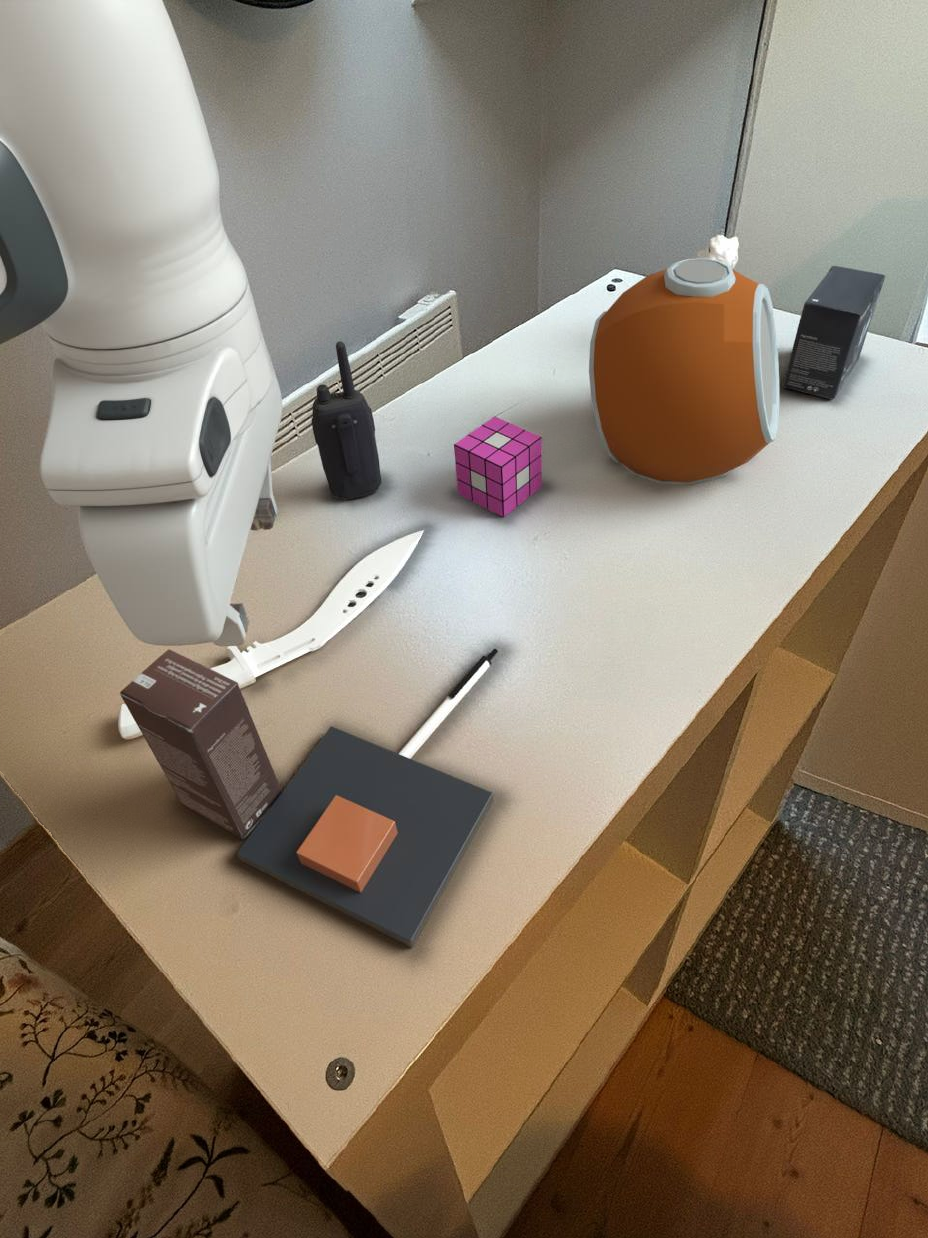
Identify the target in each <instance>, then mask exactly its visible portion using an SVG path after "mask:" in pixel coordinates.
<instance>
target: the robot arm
mask: <svg viewBox="0 0 928 1238" xmlns="http://www.w3.org/2000/svg"><path fill="white" fill-rule="evenodd" d="M179 41H180V40H179V39H178V36H177V33H176V31H175V28H174V26H173V23H172V20H171V17H170V15H169V13H168V10H167V8H166V6H165V3H164V1H163V0H0V345H3V344H5V343H6V342H9V341H10V340H12V339H15V338H16V337H19V336H20V335H22V334H25V333H26V332H28V331H30V330H32V329H33V328H35V327H37V326H38V325H41V327H42V328H43V330H44V332H45V334H46V336H47V339H48V341H49V343H50V346H51V348H52V350H53V352H54V354H55V356H56V357H55V358H54V359H53V361H52V363H51V364H52V365H51V400H50V401H51V403H50V409H49V417H48V422H47V427H46V432H45V436H44V441H43V445H42V449H41V454H40V458H39V475H40V477H41V480H42V483H43V485H44V487H45V489H46V491H47V492H48V494H49V495H50V497H51V499H52V500H53V501H54V502H55V503H56V504H58V505H59V506H73V507H78V516H77V517H78V528H79V534H80V537H81V542H82V544H83V546H84V550H85V553H86V555H87V557H88V559H89V562H90V563H91V565H92V567H93V570H94V572H95V574H96V575H97V577H98V579H99V581H100V583H101V585H102V587H103V588H104V590H105V592H106V594H107V595H108V597H109V600H110V601H111V603H112V604H113V606H114V607H115V610H116V611H117V613H118V614H119V616H120V618H121V619H122V620H123V622H124V624H125V625H126V627H127V628H128V630H129V632H130V633H131V634H132V635H133V636H134V637H135V638H136V639H137V640H138V641H140V642H142V643H145V644H148V645H153V646H162V647H163V646H164V647H171V646H172V647H174V646H175V647H177V646H178V647H179V646H193V645H202V644H209V643H212V644H214V646H218V647H229V646H236V647H237V646H238V647H239V646H242V645H243V644H244V643H245V642H246V636H247V633H248V630H249V625H250V619H249V617H248V616H247V611H246V609H245V606H244V603H242V602H241V603H231V601H232V598H233V593H234V590H235V586H236V582H237V579H238V575H239V572H240V569H241V566H242V565H241V564H242V561H243V558H244V555H245V550H246V546H247V543H248V540H249V536H250V533H251V531H259V530H261V529H262V530H263V531H268V530H272V529H273V527H274V524H275V521H276V517H277V514H278V507H277V503H276V500H275V496H274V492H273V473H272V458H271V457H272V454H273V450H274V447H275V443H276V439H277V435H278V432H279V428H280V425H281V422H282V418H283V410H284V409H283V398H282V392H281V387H280V383H279V380H278V376H277V374H276V371H275V368H274V364H273V361H272V358H271V355H270V353H269V350H268V347H267V343H266V341H265V338H264V334H263V329H262V326H261V322H260V319H259V315H258V311H257V307H256V304H255V300H254V297H253V293H252V290H251V286H250V283H249V279H248V275H247V272H246V268H245V267H244V264H243V261H242V260H241V257H239V254H238V252H237V251H236V249H235V248H234V247H233V245H232V243H231V240H230V239H229V237H228V233H227V232H226V229H225V226H224V222H223V217H222V212H221V203H220V187H221V186H220V185H221V184H220V183H221V182H220V174H219V169H218V164H217V159H216V158H215V154H214V153H215V152H214V150H213V146H212V142H211V139H210V135H209V132H208V128H207V125H206V122H205V118H204V114H203V111H202V108H201V105H200V101H199V98H198V95H197V92H196V89H195V86H194V82H193V79H192V76H191V73H190V70H189V67H188V64H187V62H186V58H185V56H184V53H183V50H182V47H181V44H180V42H179Z"/></svg>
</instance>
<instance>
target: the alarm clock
mask: <svg viewBox="0 0 928 1238" xmlns="http://www.w3.org/2000/svg"><path fill="white" fill-rule="evenodd" d="M775 321H776V320H775V314H774V307H773V303H772V298H771V294H770V289H768V288H767V286H766V285H765V284H763V283H758V282H756V281H754V280H753V279H750V278H749V277H747V276H745V275H744V274H741V273H739V272H738V271H736V270H734V269H733V270H732V268H731V267H730V266H728V265H726V264H725V263H723V262H721V261H717V260H712V259H706V258H698V257H695V258H686V259H683V260H679V261H676V262H673V263H672V264H671V265H670V266H669V267H668V268H665V269H662V270H660V271H657V272H655V273H651V274H649V275H646V276H645V277H644V278H642V279H641V280H639V281H638V282H636V283H635V284H633V285H632V286H630V287H629V288H628V289H627V290H624V291H623V292H622V293H621V294H620V295H619V297H618V298H617V299H616V300H615V301H614V302H613V304H611V306H610V307H609V308H608V309H607V310H605V311H602V313H601V314H600V315H599V316H598V317H597V318H596V319H595V322H594V326H593V330H592V334H591V338H590V343H589V362H588V376H589V378H588V379H589V387H590V401H591V405H592V411H593V416H594V421H595V426H596V429H597V433H598V434H599V438H600V441H601V442H602V446H603V448H604V450H605V452H606V454H607V455H608V456H609V457H610V458H611V460H612V461H613V462H614V464H620V465H621V466H623V467H624V468H625V469H627V470H628V471H629V472H631V473H632V474H633V475H635V476H637V477H640V478H643V479H646V480H648V481H652V482H655V483H658V484H663V485H665V484H666V485H693V484H699V483H702V482H706V481H711V480H716V479H720V478H724V477H726V475H727V474H728V473H729V472H731V471H732V470H734V469H737V468H739V467H742V465H744V464H747V463H749V462H750V461H751V460H752V459H754V457H755V456H756V455H758V454H759V453H760V452H761V451H762V450H763V449H765V448H766V447H767V446H768V445H769V444H771V443H772V442H774V441H775V440H776V439H777V433H778V430H779V421H780V420H779V419H780V418H779V417H780V369H779V368H780V367H779V351H778V349H779V348H778V340H777V338H778V337H777V329H776V322H775Z"/></svg>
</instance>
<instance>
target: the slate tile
mask: <svg viewBox="0 0 928 1238" xmlns="http://www.w3.org/2000/svg"><path fill="white" fill-rule="evenodd" d="M336 795H337V796H339V797H342V798H344V799H346V800H348V801H351V802H353V803H355V804H357V805H359V806H362V807H364V808H366V809H368V810H371V811H373V812H375V813H377V814H380V815H382V816H384V817H386V818H388V819H391V820H393V821H395V823H396V827H397V831H398V834H397V835H396V837H395V838H394V840H393V842H392V843H391V845H390V846H389V848H388V850H387V851H386V853H385V855H384V856H383V858H382V859H381V861H380V863H379V864H378V866H377V868H376V869H375V871H374V872H373V874H372V876H371V877H370V879H369V881H368V882H367V884H366V885H365V887H364V889H363V890H362V892H361V893H360V892H358V891H356V890H354V889H352V888H350V887H348V886H346V885H344V884H342V883H340V882H338V881H336V880H334V879H332V878H329V877H327V876H325V875H323V874H321V873H319V872H317V871H315V870H313V869H311V868H309V867H307V866H305V865H303V864H301V862H300V860H299V857H298V855H297V853H296V852H297V851H298V849H299V848H300V846H301V845H302V843H303V842H304V841H305V839H306V838H307V836H308V835H309V833H310V832H311V830H312V829H313V828H314V826H315V825H316V823H317V822H318V820H319V819H320V817H321V816H322V815H323V813H324V812H325V810H326V809H327V807H328V806H329V804H330V803H331V802H332V800H333V799H334V797H335V796H336ZM493 803H494V793H493V792H492V791H490V790H487V789H484V788H482V787H479V786H477V785H475V784H472V783H470V782H468V781H465V780H462V779H461V778H457V777H455V776H453V775H450V774H448V773H446V772H443V771H441V770H438V769H436V768H433V767H431V766H429V765H426V764H424V763H421V762H419V761H416V760H414V759H412V758H411V759H409V758H407V757H405V756H402V755H400V754H398V752H395V751H392V750H391V749H388V748H385V747H383V746H380V745H378V744H376V743H373V742H371V741H368V740H366V739H363V738H362V737H358V736H356V735H354V734H352V733H349V732H347V731H344V730H342V729H339V728H337V727H334V726H332V725H331V726H330V727H329V728H328V729H327V731H326V732H325V733H324V735H323V736H322V737H321V739H320V740H319V741H318V743H317V744H316V745H315V747H314V748H313V749H312V751H311V752H310V754H308V756H307V758H306V759H305V760H304V761H303V763H302V764H301V765H300V767H299V768H298V770H297V771H296V773H294V775H293V777H292V778H291V779H290V781H289V782H288V783H287V785H286V786H285V787H284V789H283V790H282V793H281V794H280V795H279V797H278V798H277V799H276V801H275V802H274V803H273V805H272V806H271V808H270V809H269V810H268V812H267V813H266V814H265V816H264V817H263V818H262V820H261V821H260V822H259V823H258V824H257V826H256V827H255V828H254V829H253V831H252V832H251V833H250V834H249V835H248V836H247V838H246V839H245V841H244V842H243V844H242V845H241V846H240V848H239V849H238V851H236V856H237V857H238V859H239V861H240V862H242V863H244V864H246V865H248V866H249V867H252V868H253V869H255V870H258V871H260V872H261V873H263V874H266V875H268V876H269V877H272V878H274V879H276V880H277V881H279V882H282V883H283V884H285V885H287V886H289V887H291V888H294V889H295V890H297V891H299V892H301V893H303V894H305V895H307V896H309V897H311V898H313V899H315V900H317V901H318V902H321V903H323V904H324V905H326V906H328V907H331V908H332V909H334V910H336V911H338V912H341V913H342V914H344V915H346V916H348V917H351V918H352V919H354V920H356V921H358V922H360V923H361V924H364V925H366V926H368V927H370V928H372V929H374V930H376V931H378V932H379V933H382V934H384V935H386V936H387V937H390V938H392V939H394V940H395V941H397V942H399V943H401V944H404V945H406V946H407V947H409V948H411V949H413V948H414V947H415V945H416V943H417V941H418V939H419V938H420V936H421V934H422V932H423V930H424V928H425V927H426V926H427V924H428V921H429V919H430V917H431V916H432V914H433V912H434V910H435V908H436V907H437V905H438V903H439V901H440V900H441V897H442V896H443V893H444V892H445V891H446V888H447V886H449V885H448V884H449V883H450V881H451V879H452V877H453V876H454V874H455V872H456V870H457V868H458V866H459V864H460V863H461V861H462V859H463V857H464V856H465V853H466V852H467V850H468V848H469V847H470V844H471V843H472V842H473V839H474V837H475V836H476V833H477V832H478V830H479V829H480V826H481V824H482V823H483V822H484V819H485V818H486V815H487V814H488V812H489V810H490V808H491V807H492V805H493Z"/></svg>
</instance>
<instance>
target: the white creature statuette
mask: <svg viewBox="0 0 928 1238" xmlns="http://www.w3.org/2000/svg"><path fill="white" fill-rule="evenodd" d="M739 244H740V243H739V238H738V237H737V236H732V237H731V238H727V237H726V236H724V234H717V235H715V236H714V237H711V238H710V240H709V242H708V244H707V246H706V247H705V249H702V250H700V251H698V252H697V253H696V255H697V258H706V259H712V260H717V261H721V262H723V263H725V264H726V265H728V266H730V267H731V268H732V270H734V269H735V267H736V265H737V263H738V261H739V253H738V249H739Z"/></svg>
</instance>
